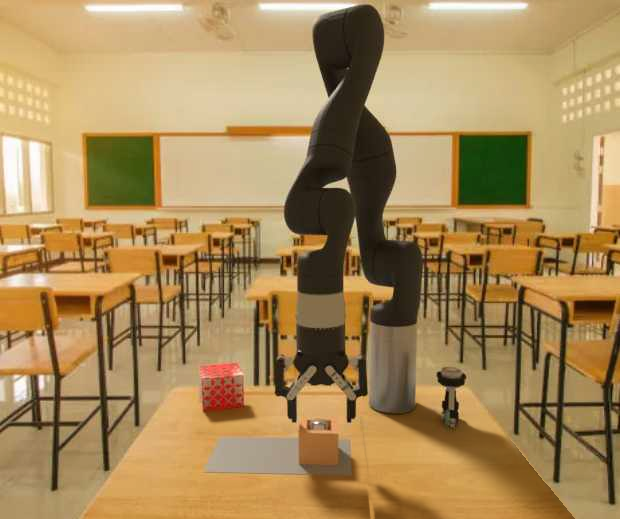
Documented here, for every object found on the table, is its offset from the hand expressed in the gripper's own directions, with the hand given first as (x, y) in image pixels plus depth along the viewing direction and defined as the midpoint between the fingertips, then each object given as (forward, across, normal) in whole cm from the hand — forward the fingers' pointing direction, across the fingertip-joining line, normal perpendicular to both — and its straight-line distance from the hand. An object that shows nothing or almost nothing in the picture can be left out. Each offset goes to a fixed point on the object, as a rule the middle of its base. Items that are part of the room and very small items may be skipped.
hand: (321, 420), depth 87 cm
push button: (+8, -24, -17) cm, 30 cm away
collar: (+6, 0, 0) cm, 6 cm away
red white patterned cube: (+8, +20, -22) cm, 31 cm away
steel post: (+7, 0, 0) cm, 7 cm away
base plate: (+7, +6, 0) cm, 10 cm away
